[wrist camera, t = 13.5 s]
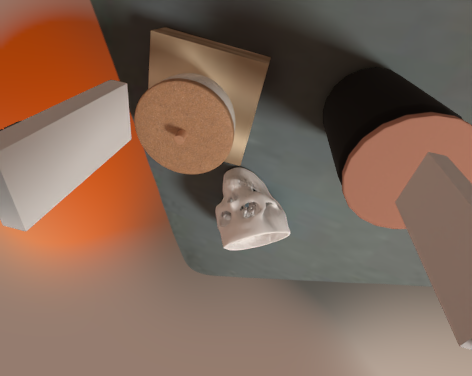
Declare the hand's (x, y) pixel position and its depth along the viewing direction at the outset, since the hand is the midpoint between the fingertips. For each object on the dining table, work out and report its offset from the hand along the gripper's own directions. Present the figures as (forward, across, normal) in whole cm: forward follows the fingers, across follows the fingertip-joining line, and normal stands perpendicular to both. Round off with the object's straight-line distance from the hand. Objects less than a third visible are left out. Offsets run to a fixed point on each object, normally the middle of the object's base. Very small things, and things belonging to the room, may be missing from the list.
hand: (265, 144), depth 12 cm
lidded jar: (+22, -9, -8) cm, 26 cm away
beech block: (+28, -9, -8) cm, 30 cm away
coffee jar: (+28, +12, -5) cm, 31 cm away
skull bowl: (+27, +1, -25) cm, 37 cm away
